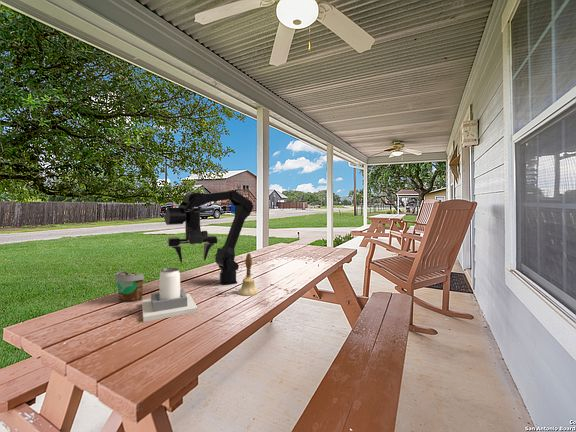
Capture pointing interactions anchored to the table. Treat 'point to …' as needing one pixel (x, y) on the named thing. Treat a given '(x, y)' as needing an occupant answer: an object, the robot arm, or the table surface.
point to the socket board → (167, 306)
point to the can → (169, 283)
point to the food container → (129, 286)
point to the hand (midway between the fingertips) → (193, 261)
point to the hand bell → (248, 280)
